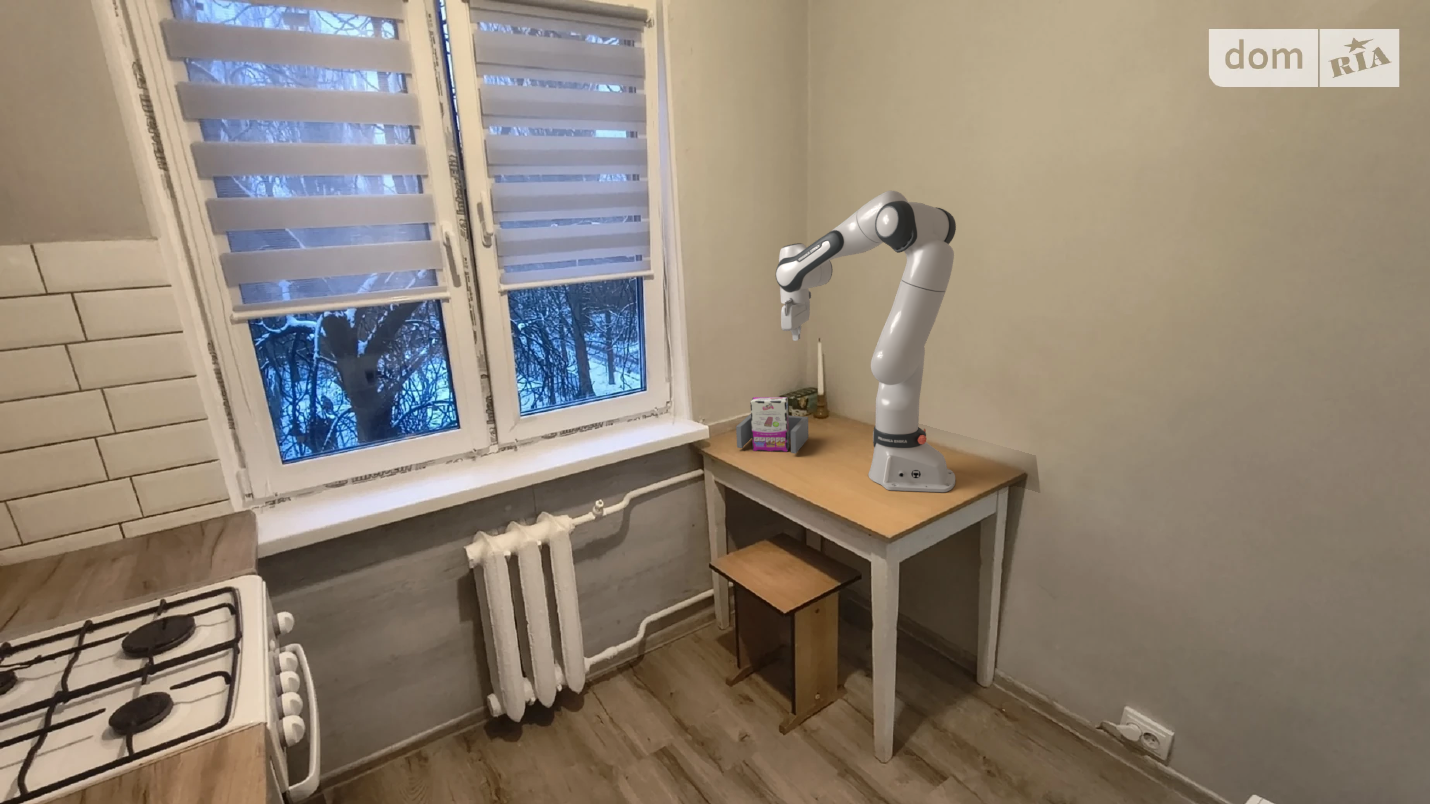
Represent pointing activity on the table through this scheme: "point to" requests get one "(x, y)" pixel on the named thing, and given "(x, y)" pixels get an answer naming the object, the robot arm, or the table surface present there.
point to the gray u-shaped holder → (796, 432)
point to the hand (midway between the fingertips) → (796, 339)
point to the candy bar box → (770, 424)
